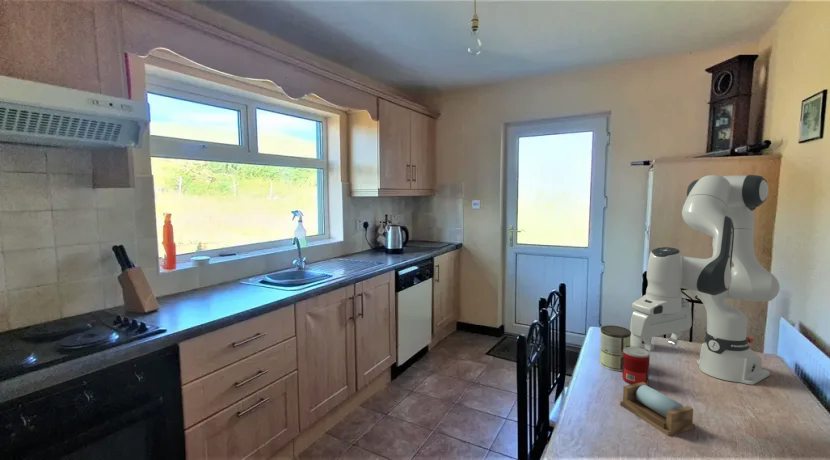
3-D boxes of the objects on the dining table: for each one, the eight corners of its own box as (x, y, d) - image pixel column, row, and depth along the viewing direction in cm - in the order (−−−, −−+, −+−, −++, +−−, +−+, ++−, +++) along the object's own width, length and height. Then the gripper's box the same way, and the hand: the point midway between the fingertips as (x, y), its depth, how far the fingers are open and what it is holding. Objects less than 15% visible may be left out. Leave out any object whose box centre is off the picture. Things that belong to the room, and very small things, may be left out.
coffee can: (601, 357, 153) (602, 323, 152) (630, 363, 147) (632, 328, 146) (597, 367, 144) (599, 331, 143) (628, 374, 139) (630, 336, 137)
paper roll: (645, 403, 119) (651, 387, 119) (680, 424, 108) (686, 405, 109) (633, 400, 117) (639, 383, 118) (667, 420, 107) (673, 401, 107)
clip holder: (644, 399, 122) (645, 381, 121) (694, 428, 107) (695, 408, 106) (620, 404, 119) (620, 386, 118) (668, 435, 104) (669, 414, 103)
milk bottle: (633, 349, 159) (635, 303, 157) (626, 342, 167) (628, 298, 165) (653, 350, 158) (656, 304, 156) (645, 343, 166) (647, 299, 164)
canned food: (652, 387, 129) (653, 356, 128) (626, 385, 131) (627, 354, 130) (643, 376, 136) (644, 347, 135) (619, 375, 138) (620, 346, 137)
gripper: (678, 295, 118) (676, 337, 120) (627, 304, 112) (626, 348, 114) (699, 301, 112) (696, 345, 114) (646, 310, 106) (644, 357, 108)
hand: (661, 347), depth 114 cm, fingers open, 8 cm apart
